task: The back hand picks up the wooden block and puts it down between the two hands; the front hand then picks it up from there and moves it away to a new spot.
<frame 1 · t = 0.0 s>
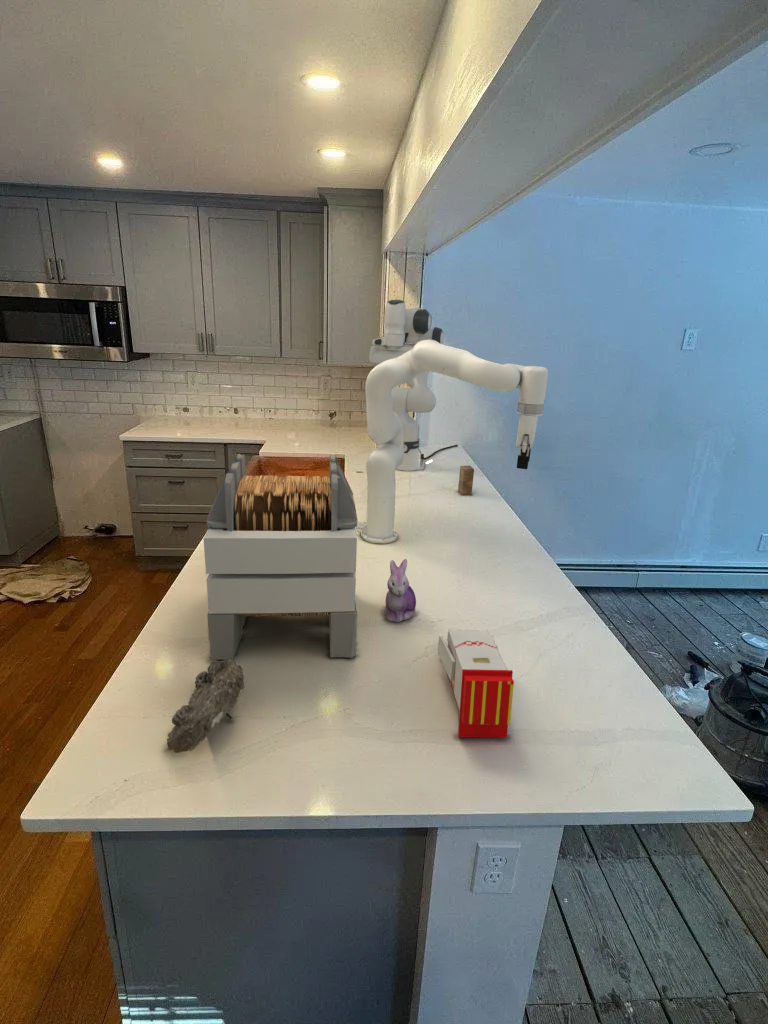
front hand: (523, 464, 174), 31 cm above the counter, tool pointing down, fingers open, 9 cm apart
back hand: (392, 375, 240), 48 cm above the counter, tool pointing down, fingers open, 8 cm apart
toy: (469, 691, 119), on the counter
figurine: (399, 614, 147), on the counter
grey record storage stand: (287, 621, 142), on the counter
block: (464, 493, 248), on the counter
fossil: (212, 717, 108), on the counter
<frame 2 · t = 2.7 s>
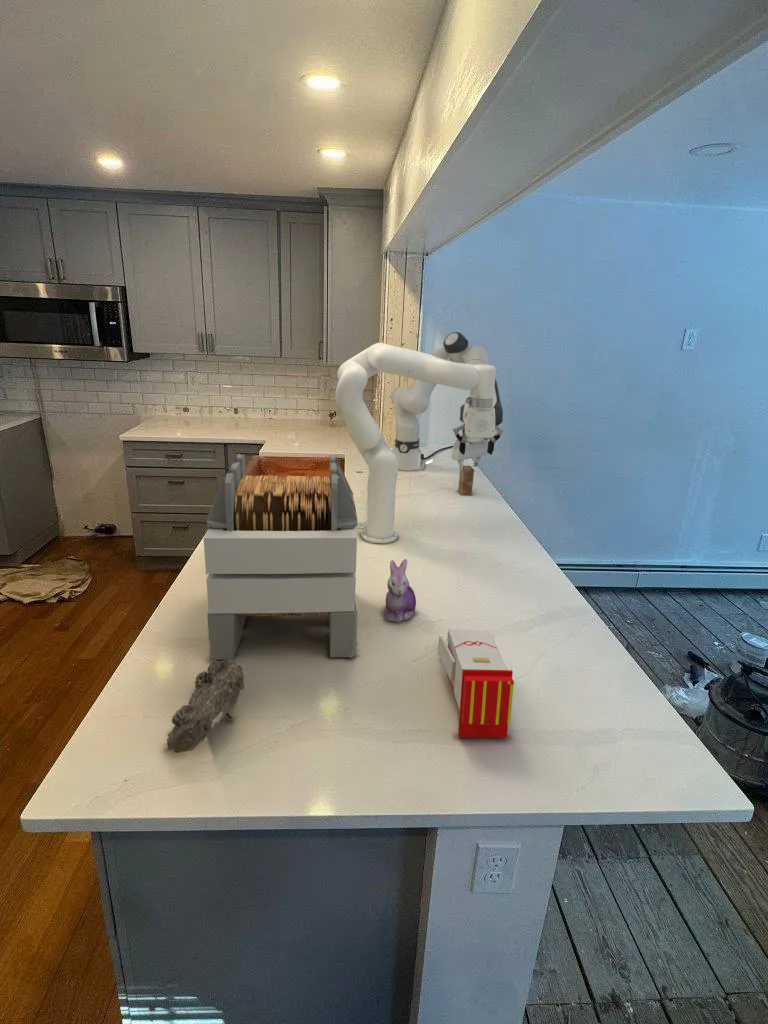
front hand: (476, 453, 193), 29 cm above the counter, tool pointing down, fingers open, 9 cm apart
back hand: (468, 467, 244), 11 cm above the counter, tool pointing down, fingers open, 8 cm apart
block: (464, 493, 248), on the counter, touching back hand
everything else where it was.
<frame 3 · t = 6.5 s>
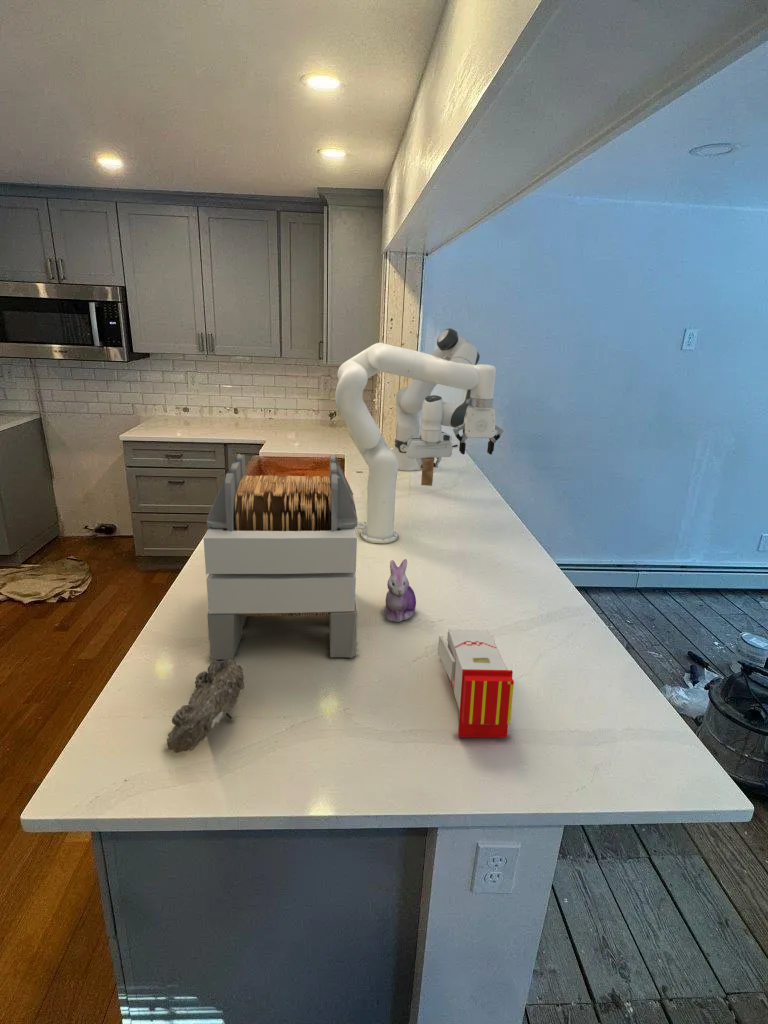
front hand: (476, 453, 193), 29 cm above the counter, tool pointing down, fingers open, 9 cm apart
back hand: (428, 467, 240), 12 cm above the counter, tool pointing down, fingers closed on block, 6 cm apart
block: (426, 483, 243), point 5 cm above the counter, touching back hand
everything else where it was.
when the back hand's fingers open (9 cm above the counter, at t = 9.6 s): block drops 2 cm, on the counter.
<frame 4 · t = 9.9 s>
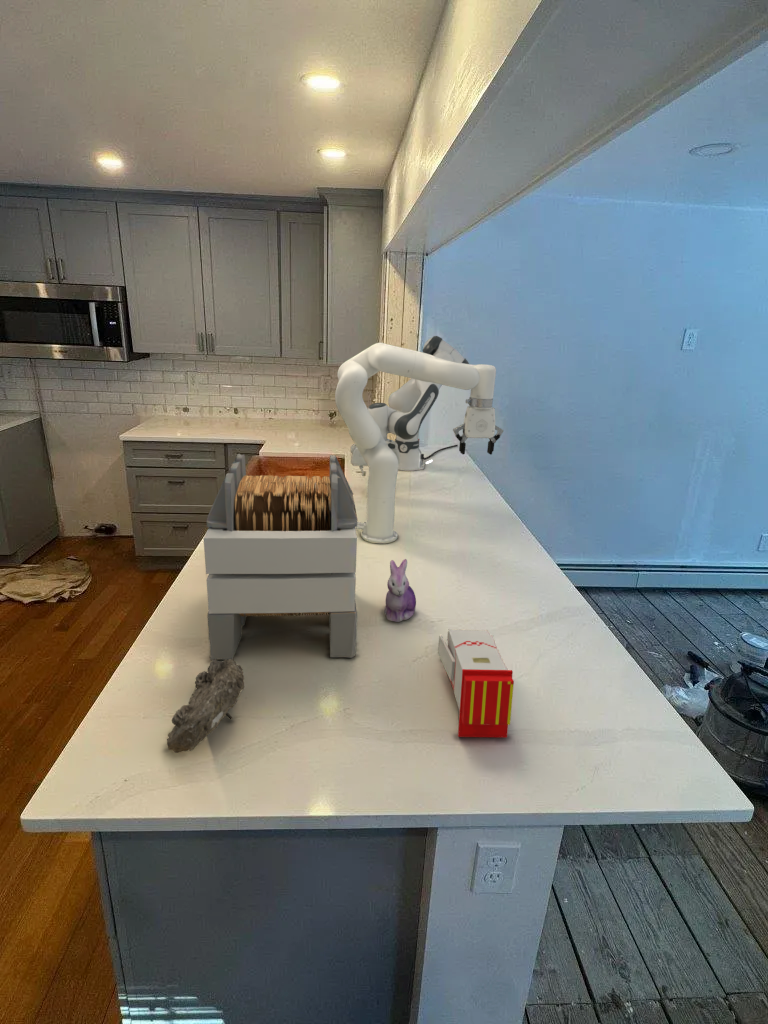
front hand: (476, 453, 193), 29 cm above the counter, tool pointing down, fingers open, 9 cm apart
back hand: (374, 475, 237), 9 cm above the counter, tool pointing down, fingers open, 8 cm apart
block: (374, 495, 240), on the counter
everything else where it was.
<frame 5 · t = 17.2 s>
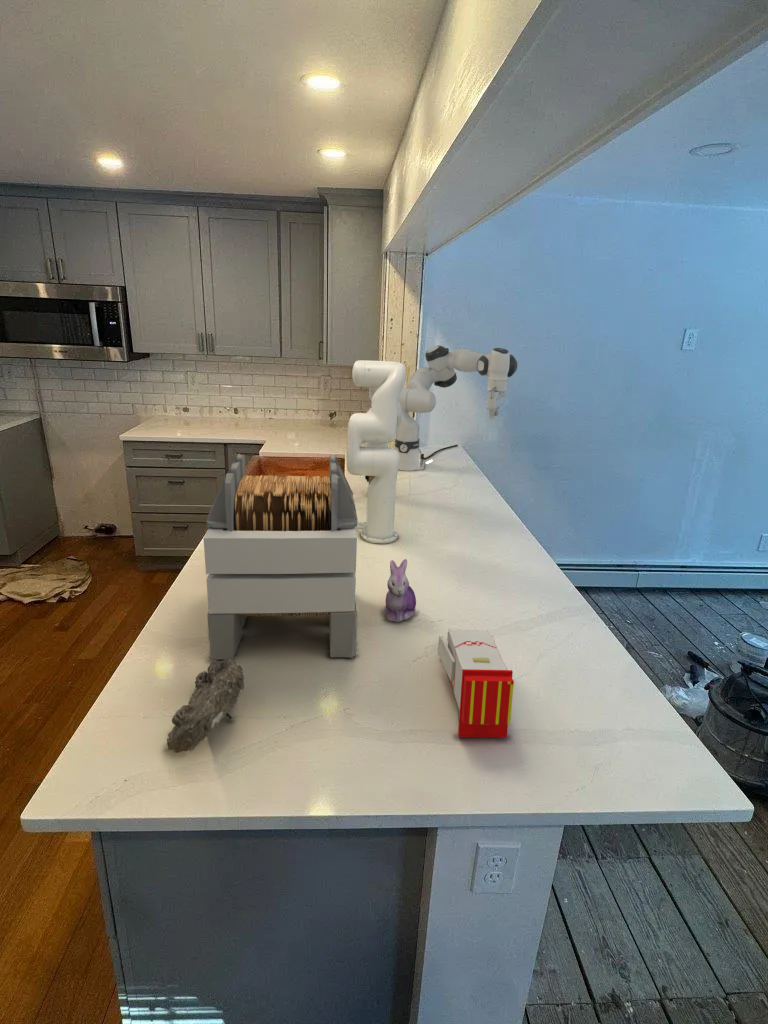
front hand: (374, 480, 237), 7 cm above the counter, tool pointing down, fingers closed on block, 5 cm apart
back hand: (493, 417, 257), 30 cm above the counter, tool pointing down, fingers open, 8 cm apart
block: (374, 495, 240), on the counter, touching front hand
everything else where it was.
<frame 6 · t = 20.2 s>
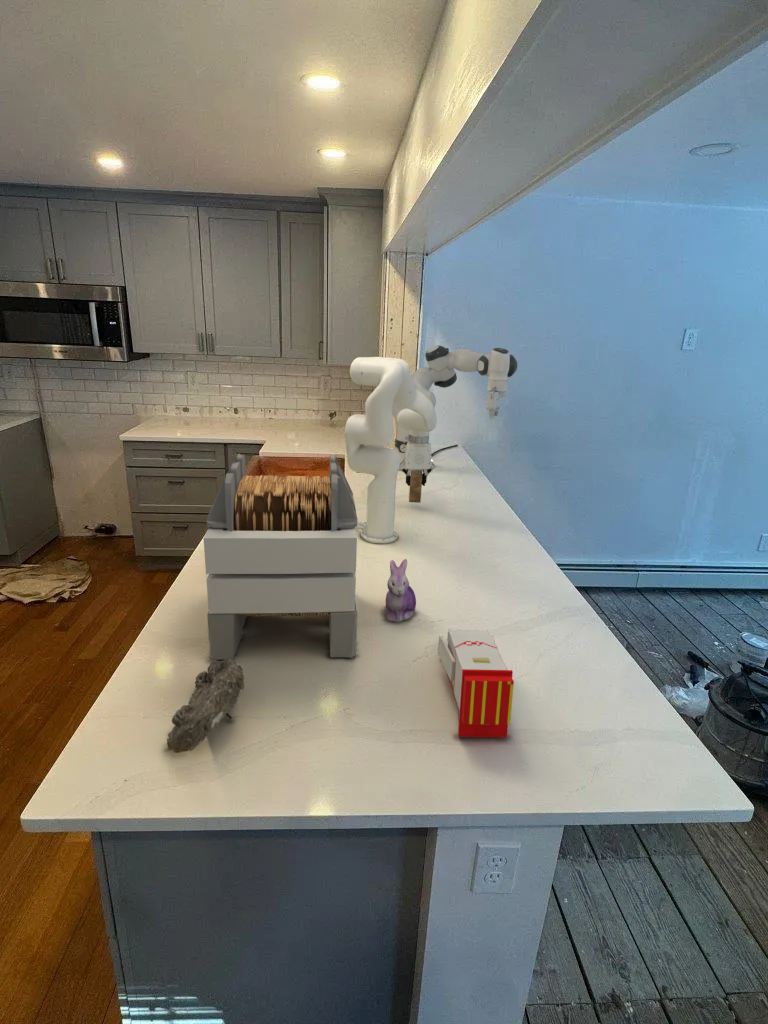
front hand: (415, 484, 223), 10 cm above the counter, tool pointing down, fingers closed on block, 5 cm apart
back hand: (493, 417, 257), 30 cm above the counter, tool pointing down, fingers open, 8 cm apart
block: (414, 500, 225), point 3 cm above the counter, touching front hand
everything else where it was.
when the front hand's fingers open (8 cm above the counter, at t = 23.5 s): block drops 2 cm, on the counter.
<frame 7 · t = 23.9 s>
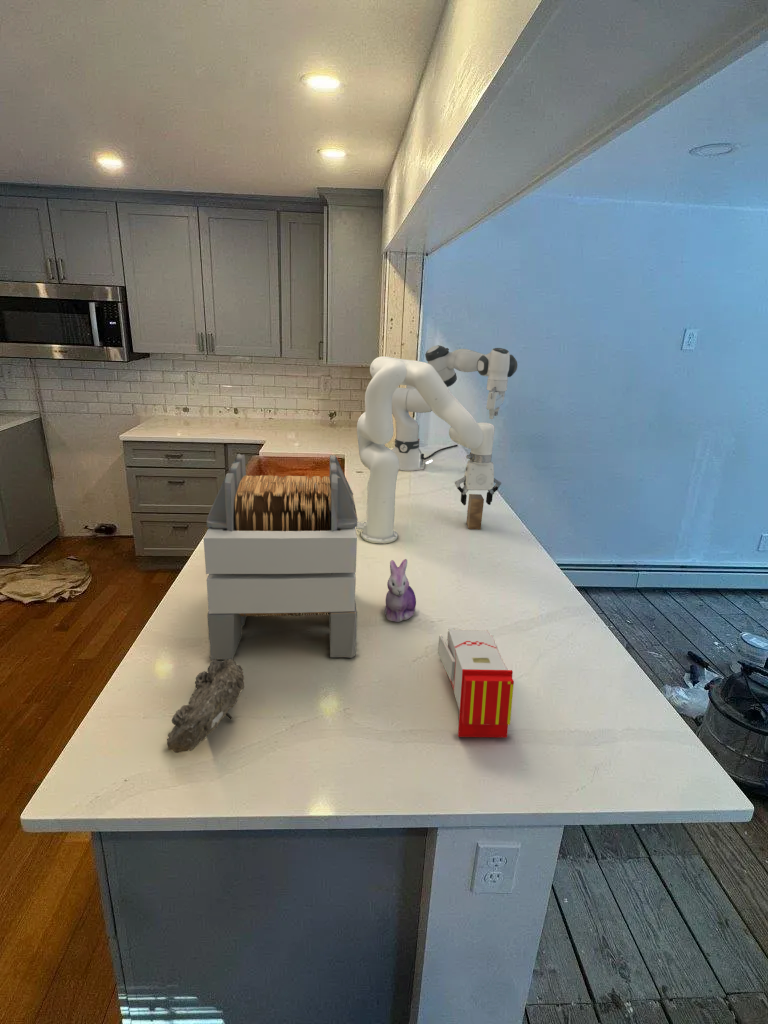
front hand: (475, 503, 207), 9 cm above the counter, tool pointing down, fingers open, 9 cm apart
back hand: (493, 417, 257), 30 cm above the counter, tool pointing down, fingers open, 8 cm apart
block: (473, 526, 210), on the counter
everything else where it was.
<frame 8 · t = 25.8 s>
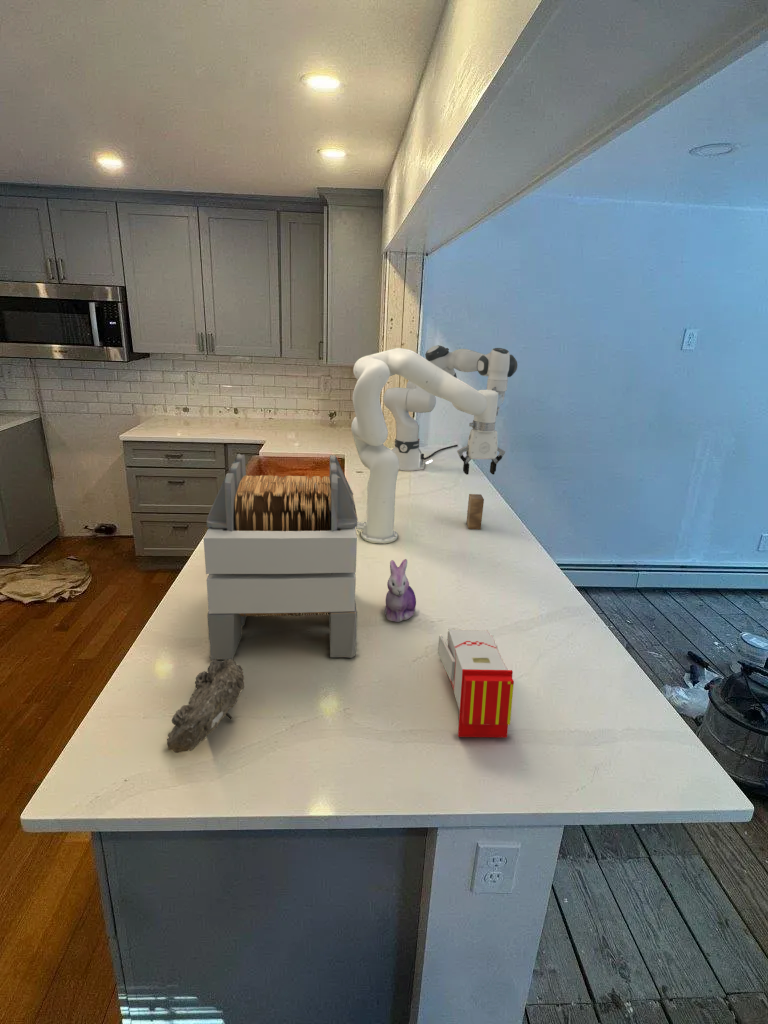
front hand: (479, 473, 203), 20 cm above the counter, tool pointing down, fingers open, 9 cm apart
back hand: (493, 417, 257), 30 cm above the counter, tool pointing down, fingers open, 8 cm apart
nothing on the counter moved.
at the end: block inside the target area (0.1 cm from its centre), on the counter; block tilted 0°; the two hands never held the block at the same time; the front hand is holding nothing; the back hand is holding nothing; block at rest at the end (0.0 cm/s) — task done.
